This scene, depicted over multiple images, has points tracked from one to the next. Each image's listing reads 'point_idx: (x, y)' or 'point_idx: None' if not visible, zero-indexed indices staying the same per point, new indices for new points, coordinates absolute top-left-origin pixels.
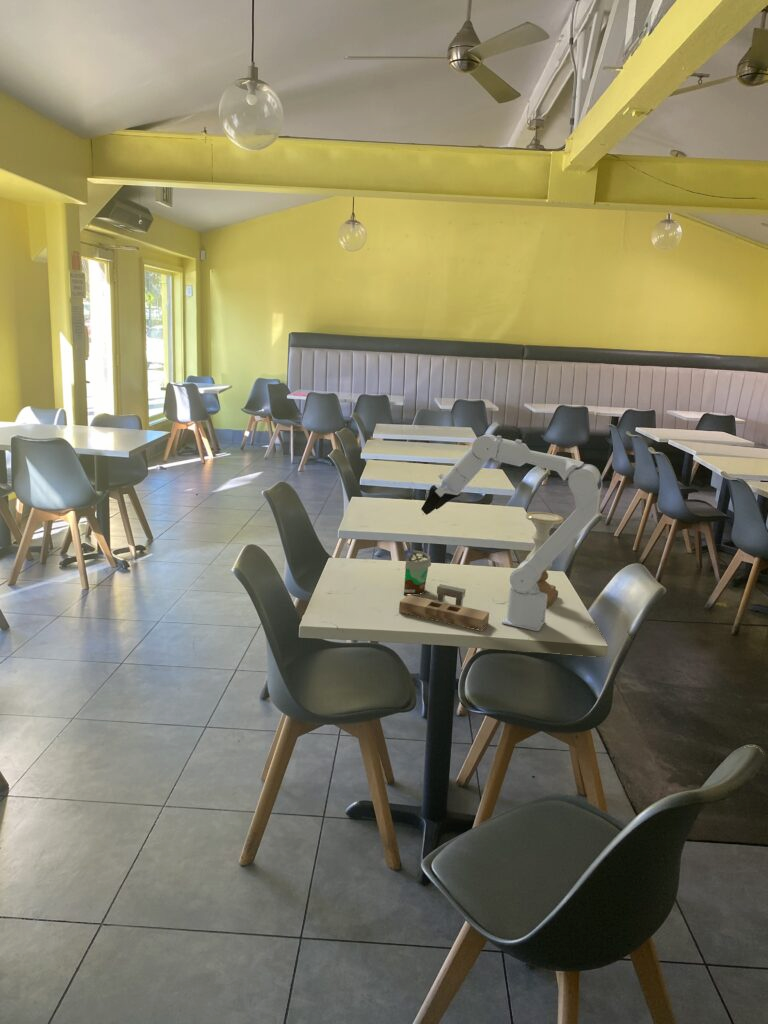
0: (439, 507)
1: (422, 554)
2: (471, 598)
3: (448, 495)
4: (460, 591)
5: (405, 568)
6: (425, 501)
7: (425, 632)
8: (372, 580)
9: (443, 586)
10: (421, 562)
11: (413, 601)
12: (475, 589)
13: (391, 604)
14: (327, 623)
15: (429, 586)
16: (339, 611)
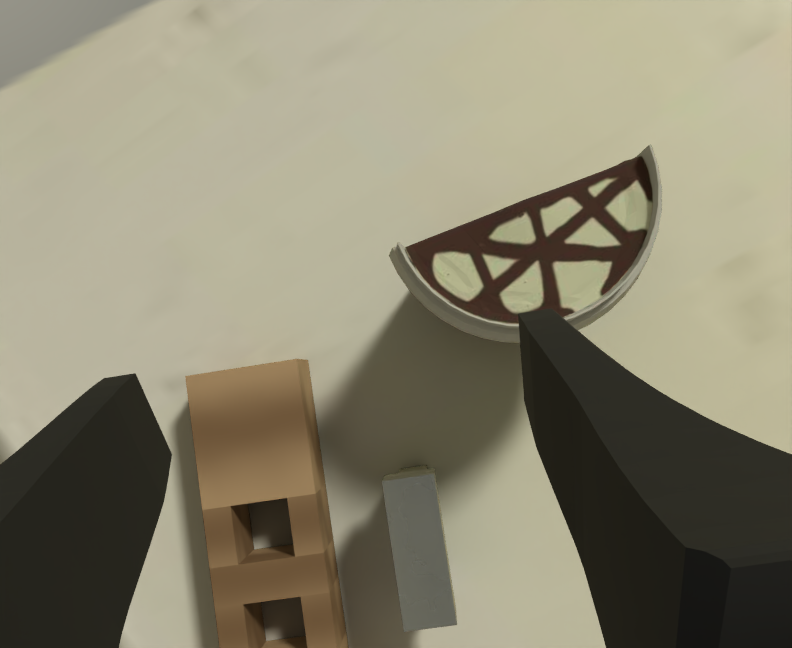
0: (538, 444)
1: (646, 225)
2: None
3: (617, 640)
4: (403, 618)
5: (389, 256)
6: (2, 463)
7: None
8: (491, 46)
9: (410, 505)
10: (468, 317)
11: (229, 427)
12: None
13: (269, 296)
14: None
15: (626, 302)
16: (47, 178)
